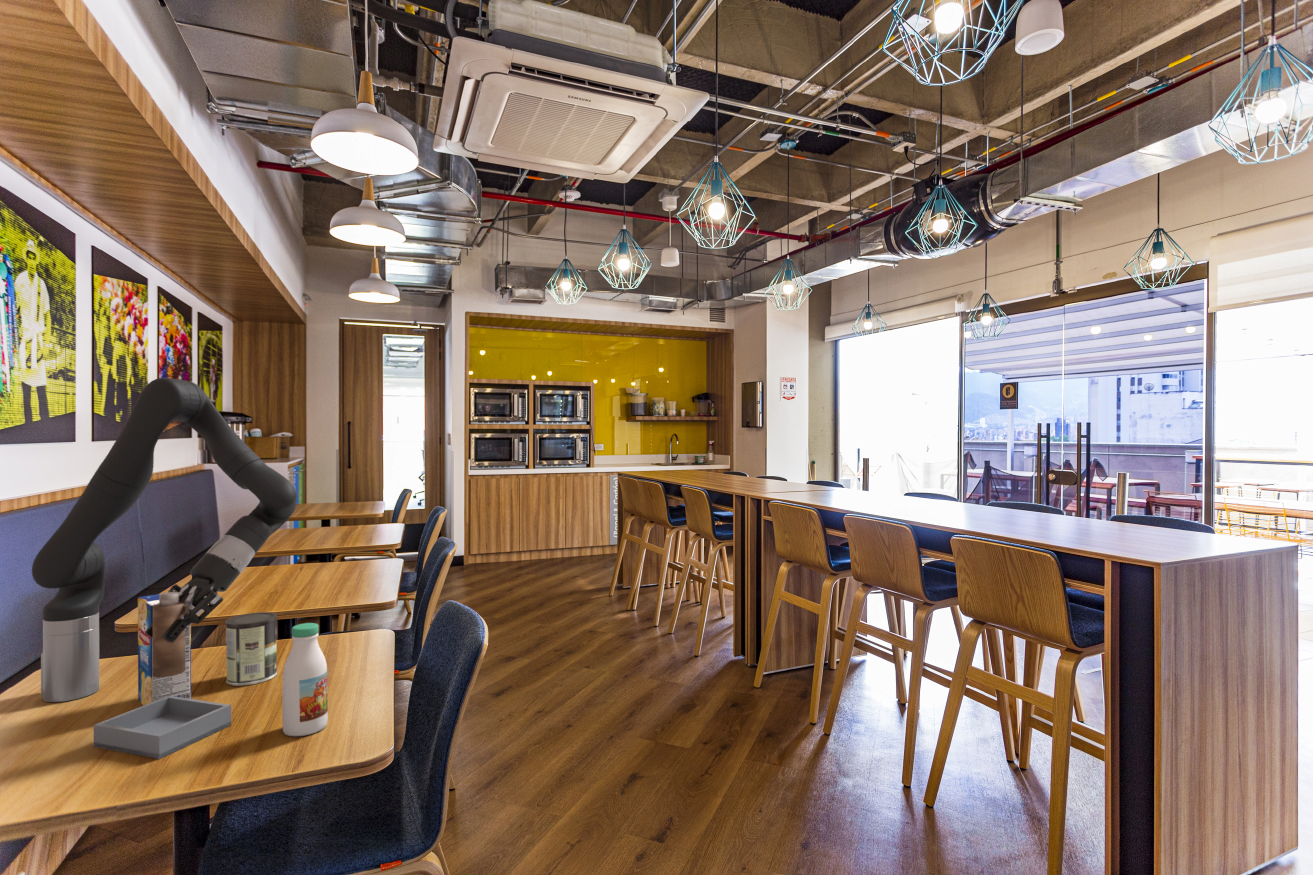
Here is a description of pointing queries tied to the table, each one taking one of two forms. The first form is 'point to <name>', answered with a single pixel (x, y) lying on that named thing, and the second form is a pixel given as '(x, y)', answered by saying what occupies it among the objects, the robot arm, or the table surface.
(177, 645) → the brown bottle
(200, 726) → the grey bin
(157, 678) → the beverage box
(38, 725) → the table surface
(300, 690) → the milk bottle
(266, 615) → the coffee can
